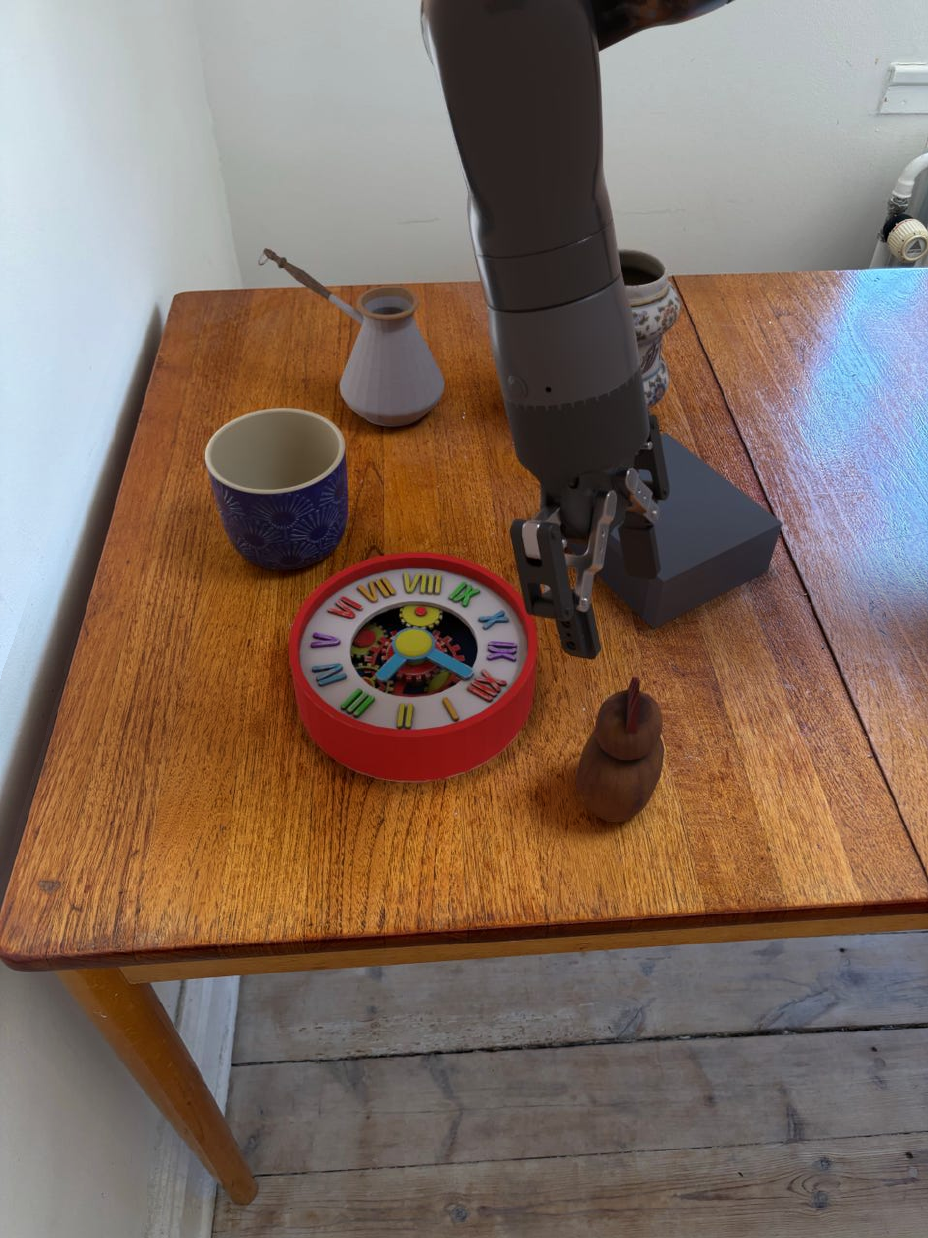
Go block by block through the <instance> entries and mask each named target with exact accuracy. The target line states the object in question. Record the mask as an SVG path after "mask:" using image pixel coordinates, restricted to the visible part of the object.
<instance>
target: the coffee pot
mask: <svg viewBox="0 0 928 1238" xmlns="http://www.w3.org/2000/svg"><path fill="white" fill-rule="evenodd" d="M264 255H265V257H266V259H265V260H264V261H263V262H261V260H262V258H263V257H264ZM269 260H270V261H274V262H275V263H276V266H277V268H278V269H284V270H285V272H287V273H288V274H289V275H290V276H291V277H292V278H294V280H295V281H297V282H298V283H299V284H302V285H303V286H305V287H306V288H307V289H308V290H310V291H313V292H314V293H315V294H317V295H319V296H320V297H322V298H323V299H325V300H326V301H329V302H331V303H332V304H333V305H335V306H336V307H337V308H339V310H342V311H343V312H344V313H346V315H348V316H349V317H350V318H352V319H353V320H355V321H356V322H357V323H359V324H360V325H361V327H360V329H359V332H358V334H357V337H356V340H355V342H354V345H353V347H352V350H351V352H350V355H349V357H348V361H347V362H346V365H345V368H344V370H343V373H342V376H341V379H340V382H339V390H340V395H341V397H342V398H343V400H344V402H345V403H346V405H347V406H348V408H349V409H350V410H351V411H353V412H354V413H355V414H356V415H358V416H359V417H361V418H363V419H365V420H366V421H367V422H369V423H371V424H374V425H377V426H381V427H392V428H393V427H403V426H407V425H410V424H413V423H416V422H417V421H419V420H420V419H421V418H423V417H425V415H427V414H428V413H429V412H431V411H432V410H433V409H434V408H435V407H436V406H437V404H438V403H439V401H440V400H441V398H442V396H443V394H444V390H445V385H446V384H445V383H446V382H445V380H444V377H443V376H444V375H443V373H442V371H441V369H440V367H439V365H438V363H437V361H436V359H435V358H434V356H433V354H432V352H431V349H430V348H429V346H428V344H427V342H426V340H425V338H424V336H423V334H422V332H421V330H420V328H419V327H418V325H417V322H416V320H415V319H414V315H415V313H416V311H417V310H418V308H419V305H420V300H419V297H418V296H417V295H416V294H415V292H413V291H412V290H411V289H410V288H408V287H406V286H402V285H401V286H400V285H383V286H377V287H372V288H370V289H368V290H365V291H364V292H362V293H361V294H360V295H359V296H358V297H357V299H356V303H355V304H356V308H357V309H356V308H354V307H353V306H352V305H349V303H346V302H345V301H344V300H342V299H341V298H339V297H338V296H336V295H335V294H333V292H332V291H330V289H328V288H327V287H326V286H325V285H322V284H321V283H320V282H319V281H318V280H316V279H315V278H314V277H313V276H311V275H310V274H309V273H308V272H306V271H305V270H304V269H301V268H300V267H297V266H296V265H294V264H292V263H290V262H288V260H287V257H285V256H284V257H283V256H282V257H281V256H279V255H277V253H276V252H275V251H273V250H272V249H270V248H264V249H263V251H262V253H261V254H260V256H259V258H258V260H257V265H259V266H264V265H265V264H266V263H267V262H268V261H269Z"/></svg>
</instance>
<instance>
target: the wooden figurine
mask: <svg viewBox="0 0 928 1238" xmlns="http://www.w3.org/2000/svg"><path fill="white" fill-rule="evenodd" d="M640 688H641V679H640V678H639V677H638V676H632V677H631V679H630V682H629V684H628V687H627V689H624V690H620V691H616V692H614V693H613V694H611V695H609V696H608V697H607V698H605V700H604V701H603V702H602V704H601V705H600V707H599V709H598V712H597V715H596V718H595V723H594V724H595V725H594V730H593V731H592V732H591V734H590V735H589V737H588V739H587V740H586V742H585V745H584V747H583V749H582V750H581V753H580V757H579V761H578V764H577V767H576V771H575V778H574V782H575V786H576V790H577V792H578V795H579V796H580V798H581V800H582V803H583V804H584V807H585V808H586V809H587V810H588V811H589V812H591V813H592V814H593V815H594V816H595V817H597V818H599V819H601V820H604V821H605V822H609V823H611V822H612V823H622V822H627V821H630V820H632V819H633V818H635V817H636V816H638V815H639V814H640V813H641V812H642V811H643V810H644V809H645V808H646V806H647V805H648V803H649V802H650V800H651V798H652V797H653V795H654V793H655V790H656V788H657V785H658V784H659V781H660V778H661V776H662V772H663V771H662V770H663V765H664V758H665V745H664V741H663V739H662V737H661V736H662V735H661V734H662V732H663V726H664V725H663V724H664V723H663V715H662V710H661V708H660V706H659V704H658V702H657V701H656V700H655V699H654V698H653V696H651V695H650V694H649V693H646V692H644V691H641V690H640Z"/></svg>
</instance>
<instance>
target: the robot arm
mask: <svg viewBox="0 0 928 1238" xmlns="http://www.w3.org/2000/svg"><path fill="white" fill-rule="evenodd" d="M735 1H736V0H420V7H419V27H420V35H421V40H422V43H423V47H424V49H425V52H426V55H427V57H428V59H429V61H430V63H431V64H432V66H433V70H434V72H435V76H436V79H437V82H438V86H439V90H440V93H441V96H442V100H443V104H444V108H445V111H446V115H447V119H448V123H449V126H450V127H449V128H450V131H451V134H452V139H453V143H454V146H455V149H456V154H457V157H458V162H459V165H460V168H461V172H462V175H463V179H464V182H465V186H466V189H467V199H466V201H467V202H466V211H467V221H468V228H469V234H470V235H469V236H470V240H471V245H472V250H473V255H474V259H475V263H476V268H477V273H478V276H479V282H480V285H481V289H482V293H483V298H484V302H485V307H486V313H487V321H488V334H489V341H490V348H491V349H490V350H491V353H492V358H493V362H494V366H495V370H496V376H497V379H498V383H499V387H500V392H501V396H502V401H503V406H504V410H505V414H506V419H507V422H508V426H509V431H510V436H511V440H512V444H513V447H514V452H515V456H516V458H517V461H518V463H519V464H520V465H521V466H522V467H524V469H526V470H527V471H528V472H530V474H532V475H533V476H534V478H536V480H537V481H538V482H539V490H540V498H539V499H540V500H539V510H540V511H539V512H538V513H537V514H536V515H534V516H533V517H532V518H531V519H521V518H515V519H513V521H512V522H511V524H510V528H509V536H510V541H511V546H512V551H513V555H514V560H515V565H516V570H517V575H518V579H519V584H520V590H521V596H522V598H523V600H524V604H525V609H526V613H527V614H528V615H532V616H533V617H539V618H544V619H548V620H554V621H555V625H556V631H557V634H558V638H559V643H560V647H561V649H562V651H563V653H564V654H567V656H568V655H569V656H570V657H575V658H579V659H580V658H581V659H585V660H590V661H593V660H595V659H596V658H597V656H598V655H599V654H600V652H601V651H602V645H601V639H600V635H599V630H598V626H597V621H596V615H595V610H594V606H593V603H591V600H592V593H593V586H594V579H595V575H596V574H595V573H596V572H597V571H600V570H601V569H602V567H603V565H604V559H605V552H606V545H607V540H608V538H609V537H610V535H611V533H612V531H613V529H614V528H615V527H617V526H618V525H620V524H621V525H620V526H619V527H618V532H619V538H620V543H621V549H622V554H623V560H624V566H625V571H626V573H627V574H628V575H629V576H631V577H637V578H644V579H655V578H656V576H657V575H658V574H659V572H660V571H661V566H660V559H659V553H658V546H657V540H656V534H655V527H654V524H655V523H656V522H657V521H658V518H659V507H658V505H657V504H658V502H659V500H663V501H665V500H667V498H668V496H669V492H670V486H669V480H668V475H667V469H666V463H665V458H664V452H663V446H662V441H661V431H660V424H659V419H658V416H657V414H653V413H651V414H648V412H647V405H646V398H645V392H644V385H643V378H642V372H641V365H640V358H639V351H638V345H637V338H636V331H635V324H634V319H633V313H632V309H631V306H630V302H629V299H628V296H627V292H626V289H625V285H624V282H623V277H622V272H621V266H620V259H619V253H618V248H619V247H618V241H617V233H616V227H615V221H614V215H613V210H612V205H611V199H610V194H609V190H608V186H607V182H606V177H605V170H604V168H605V167H604V122H603V121H604V117H603V115H604V114H603V95H602V79H601V78H602V74H601V61H600V52H602V51H605V50H607V49H608V48H610V47H612V46H614V45H616V44H618V43H620V42H622V41H625V40H626V39H628V38H630V37H632V36H634V35H636V34H638V33H641V32H643V31H646V30H650V29H653V28H658V27H666V26H667V27H668V26H675V25H678V24H683V23H686V22H689V21H692V20H694V19H697V18H701V17H703V16H705V15H707V14H710V13H713V12H715V11H716V10H719V9H721V8H724V7H725V5H729V4H731V3H734V2H735ZM639 469H642V470H648V471H649V472H650V473H651V476H652V481H648V480H640V474H639ZM623 521H624V522H623ZM562 537H564V538H565V539H566V540H567V541H568V542H570V543H573V544H580V545H588V549H587V551H586V553H585V554H583V555H575V554H570V553H566V552H565V548H567V546H566V545H567V541H566V540H565V539H562ZM568 568H574V569H575V570H576V578H575V583H574V584H575V586H574V588H571V583H570V577H569V572H568ZM541 585H543V586H544V588H543V592H542V586H541Z"/></svg>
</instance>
